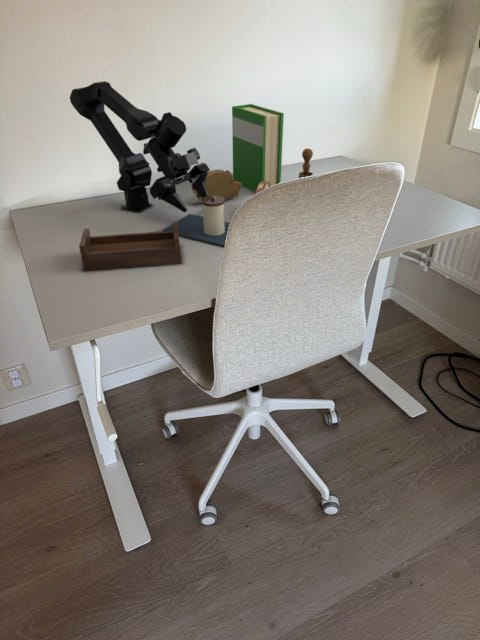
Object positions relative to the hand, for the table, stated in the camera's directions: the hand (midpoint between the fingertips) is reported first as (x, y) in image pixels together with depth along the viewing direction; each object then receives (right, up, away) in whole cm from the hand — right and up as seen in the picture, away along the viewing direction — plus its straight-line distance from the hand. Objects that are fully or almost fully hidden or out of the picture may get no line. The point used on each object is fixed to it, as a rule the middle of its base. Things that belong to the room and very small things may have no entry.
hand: (197, 206), depth 127 cm
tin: (+18, +1, +12) cm, 22 cm away
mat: (+2, -6, +2) cm, 7 cm away
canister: (+4, -7, 0) cm, 8 cm away
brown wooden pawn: (+31, +2, +14) cm, 34 cm away
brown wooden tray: (-15, -15, -11) cm, 24 cm away
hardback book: (+17, +15, +33) cm, 40 cm away
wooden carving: (+4, +7, +21) cm, 22 cm away
